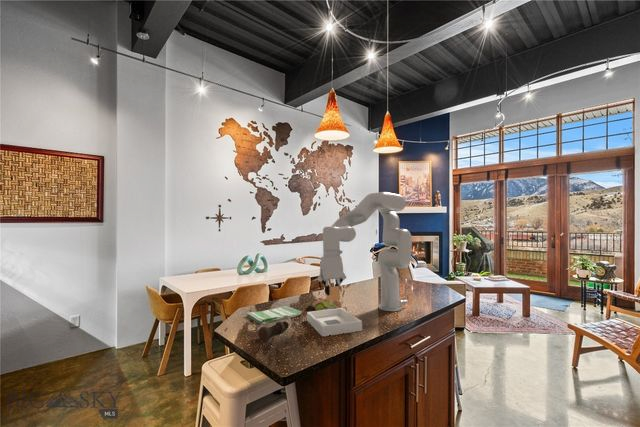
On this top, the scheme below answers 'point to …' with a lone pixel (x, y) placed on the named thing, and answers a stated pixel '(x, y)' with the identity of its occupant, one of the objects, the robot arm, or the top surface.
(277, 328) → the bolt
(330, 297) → the tan rectangular block
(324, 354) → the top surface
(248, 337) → the top surface
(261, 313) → the dish towel
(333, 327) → the tray
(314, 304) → the green elongated lump
